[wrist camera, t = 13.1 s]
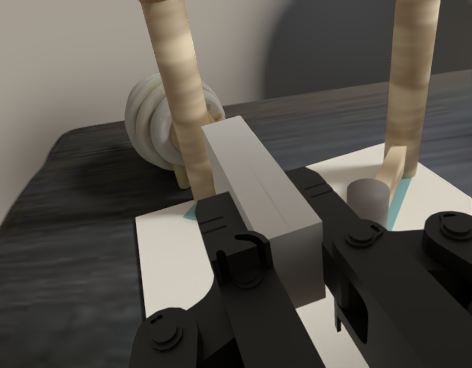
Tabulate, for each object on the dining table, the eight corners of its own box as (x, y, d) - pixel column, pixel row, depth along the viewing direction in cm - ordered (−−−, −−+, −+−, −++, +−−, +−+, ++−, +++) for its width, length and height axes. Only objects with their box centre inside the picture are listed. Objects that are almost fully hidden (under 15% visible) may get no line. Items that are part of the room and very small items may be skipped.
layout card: (387, 144, 41) (388, 141, 41) (685, 348, 20) (689, 344, 20) (136, 219, 37) (135, 216, 37) (176, 579, 16) (174, 577, 16)
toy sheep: (182, 217, 36) (150, 111, 30) (117, 159, 48) (85, 75, 42) (265, 171, 41) (252, 70, 35) (187, 128, 53) (167, 48, 47)
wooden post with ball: (384, 162, 39) (405, -91, 27) (421, 167, 37) (460, -100, 25) (339, 259, 29) (340, -70, 17) (386, 272, 27) (423, -83, 15)
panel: (341, 221, 31) (343, -74, 20) (325, 248, 29) (316, -66, 17) (206, 184, 38) (151, -44, 27) (185, 203, 36) (116, -36, 25)
